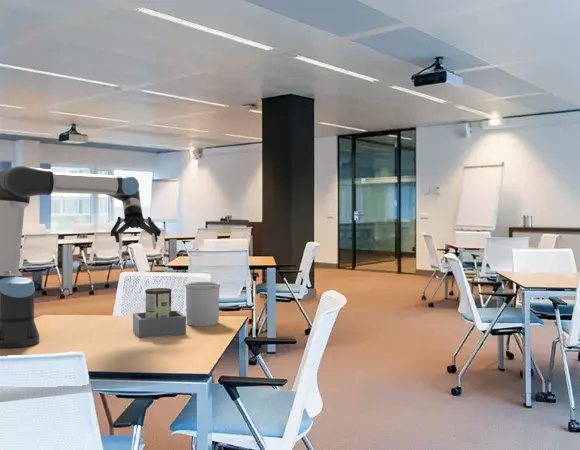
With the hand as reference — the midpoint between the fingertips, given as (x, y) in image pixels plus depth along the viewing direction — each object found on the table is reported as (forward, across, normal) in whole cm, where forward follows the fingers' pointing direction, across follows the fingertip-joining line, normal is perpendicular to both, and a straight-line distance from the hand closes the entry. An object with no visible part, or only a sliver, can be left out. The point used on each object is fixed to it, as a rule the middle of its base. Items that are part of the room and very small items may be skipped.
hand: (138, 247), depth 225 cm
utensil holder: (+22, -28, -26) cm, 44 cm away
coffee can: (+28, -7, -16) cm, 33 cm away
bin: (+30, -7, -18) cm, 35 cm away
